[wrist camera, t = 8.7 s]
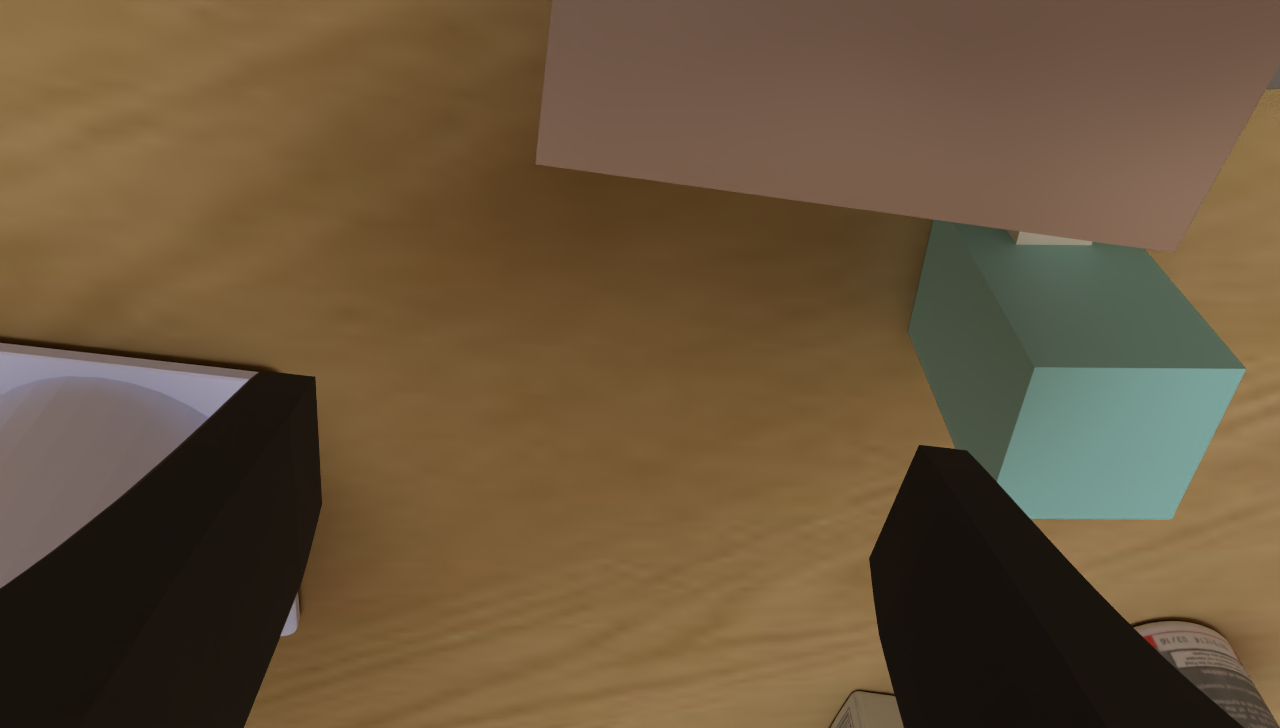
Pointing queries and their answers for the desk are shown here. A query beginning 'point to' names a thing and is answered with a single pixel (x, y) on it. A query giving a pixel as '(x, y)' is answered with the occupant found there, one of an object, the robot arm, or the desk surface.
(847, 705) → the box
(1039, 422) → the teal toy mallet
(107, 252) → the desk surface
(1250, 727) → the pill bottle
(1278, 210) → the desk surface
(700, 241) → the desk surface
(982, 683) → the robot arm
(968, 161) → the cabinet
